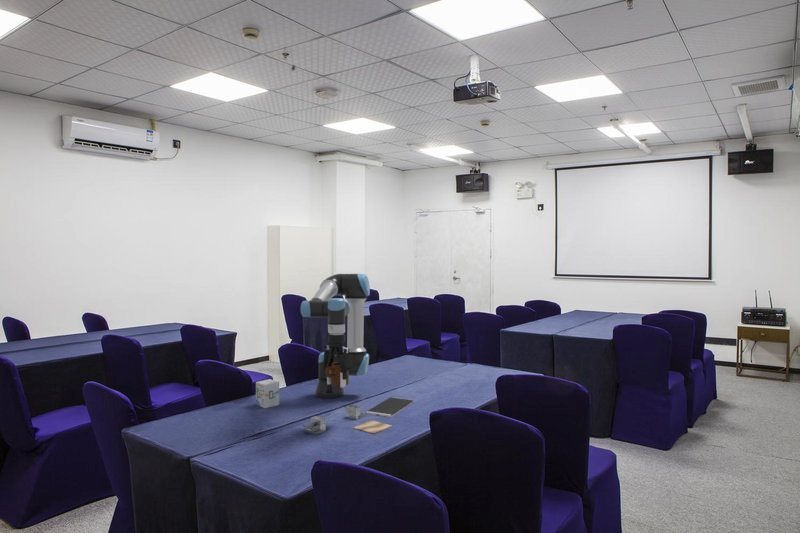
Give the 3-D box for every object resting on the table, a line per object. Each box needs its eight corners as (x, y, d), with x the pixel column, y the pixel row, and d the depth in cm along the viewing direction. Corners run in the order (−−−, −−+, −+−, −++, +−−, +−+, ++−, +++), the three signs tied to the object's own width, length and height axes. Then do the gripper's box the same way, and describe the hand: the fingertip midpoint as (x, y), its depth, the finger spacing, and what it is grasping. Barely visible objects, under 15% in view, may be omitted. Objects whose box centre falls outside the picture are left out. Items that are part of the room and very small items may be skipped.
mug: (331, 389, 215) (331, 368, 215) (320, 386, 220) (320, 365, 220) (352, 384, 224) (352, 363, 224) (340, 381, 229) (340, 361, 229)
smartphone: (365, 415, 236) (365, 411, 236) (390, 400, 261) (390, 396, 261) (390, 418, 231) (390, 415, 231) (413, 403, 255) (413, 399, 255)
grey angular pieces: (300, 432, 211) (300, 420, 210) (354, 413, 237) (354, 402, 237) (312, 436, 206) (312, 423, 206) (366, 416, 232) (366, 405, 232)
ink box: (255, 404, 250) (255, 381, 250) (270, 401, 256) (270, 378, 256) (264, 408, 244) (264, 384, 244) (279, 404, 250) (279, 381, 250)
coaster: (353, 428, 216) (353, 427, 216) (371, 421, 226) (371, 420, 226) (374, 434, 209) (374, 433, 209) (392, 426, 218) (392, 425, 218)
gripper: (314, 332, 225) (314, 383, 225) (347, 336, 212) (347, 390, 213) (326, 330, 231) (326, 380, 231) (359, 334, 218) (359, 387, 219)
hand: (336, 385), depth 222 cm, fingers closed on mug, 7 cm apart
